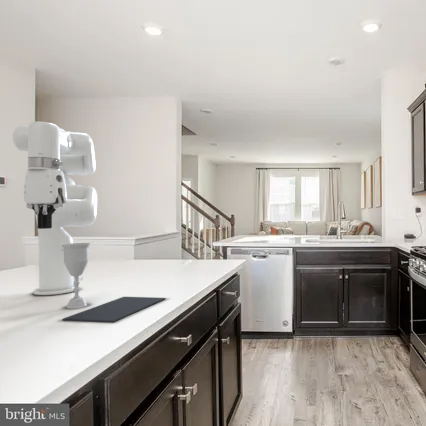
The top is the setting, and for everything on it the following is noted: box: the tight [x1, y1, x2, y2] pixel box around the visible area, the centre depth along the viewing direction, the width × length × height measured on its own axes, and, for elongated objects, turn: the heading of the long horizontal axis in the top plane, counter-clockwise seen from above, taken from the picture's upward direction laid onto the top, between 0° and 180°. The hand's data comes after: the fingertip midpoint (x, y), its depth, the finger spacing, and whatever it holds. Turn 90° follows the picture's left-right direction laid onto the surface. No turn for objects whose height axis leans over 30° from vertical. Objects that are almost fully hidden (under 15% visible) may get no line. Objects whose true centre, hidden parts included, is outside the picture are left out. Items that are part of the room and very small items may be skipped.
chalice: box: [62, 242, 91, 310], centre depth 107 cm, size 7×7×18 cm
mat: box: [62, 296, 166, 323], centre depth 105 cm, size 24×14×1 cm, turn 173°
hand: (44, 228), depth 108 cm, fingers closed
